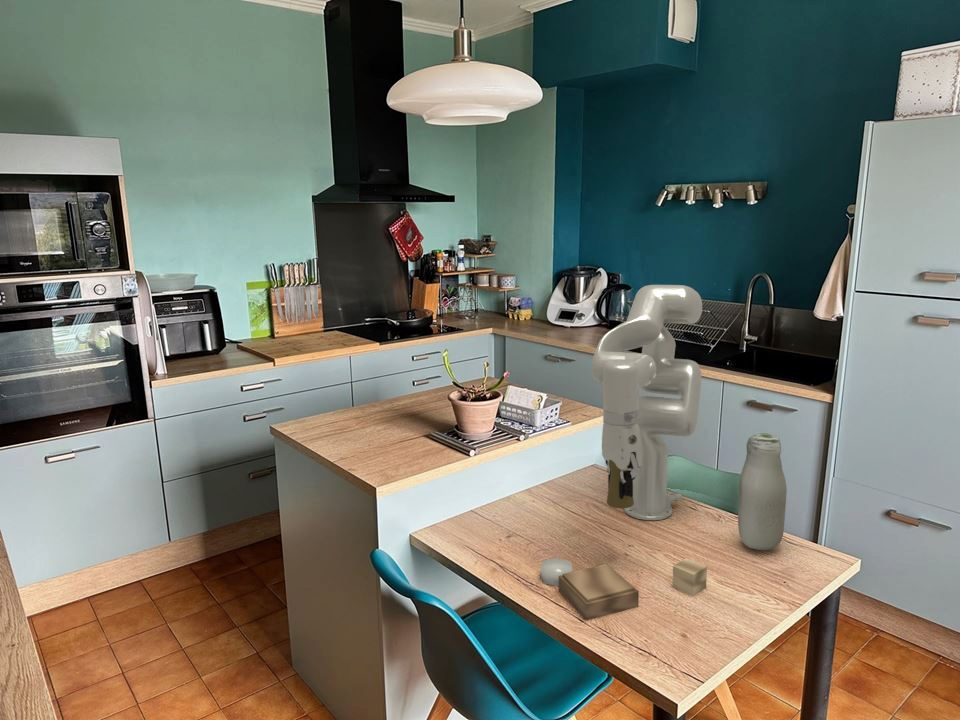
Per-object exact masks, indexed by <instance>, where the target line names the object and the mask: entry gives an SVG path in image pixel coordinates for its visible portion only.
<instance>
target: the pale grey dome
mask: <svg viewBox="0 0 960 720" xmlns="http://www.w3.org/2000/svg"><path fill="white" fill-rule="evenodd" d="M570 572H573V564H572V562H570V561H569V560H567V559H563V558H558V557H557V558H555V557H554V558H548V559H545V560H544V561H542V562H541V563H540V580H541V579H542V580H541V581H542V582H543V583H544V584H546V585H549V586H553V587H559V576H561V575H563V574H565V573H570Z"/></svg>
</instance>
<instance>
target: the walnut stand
mask: <svg viewBox="0 0 960 720" xmlns="http://www.w3.org/2000/svg"><path fill="white" fill-rule="evenodd" d="M558 591H559V593H561V594H562V596H563V597H564V598H565V599H566V600H567V601H568V602H569V603H570V604H571V605H572V606H573V608H575V610H577V611H578V612H579V614H580V615H581V616H582V617H583V618H584V619H585V620H586V621H588V620H593V619H596V618H599V617H604V616H607V615H612V614H615V613H619V612H623V611H627V610H631V609H634V608H638V607H639V597H640V595H639V594H640V593H639V592H640V591H639V590H638V589H637V588H636V587H634V586H633V585H632V584H631V583H630V582H629V581H628V580H626V579H625V578H624V577H623V576H622V575H621V574H619V573H618V572H617V571H616V570H615V569H613V568H612V567H611V566H610V565H609V564H608V563H604V564H600V565H595V566H592V567H588V568H583V569H579V570H575V571H572V572H570V573H565V574H563V575H561V576H559V586H558Z"/></svg>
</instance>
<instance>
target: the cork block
mask: <svg viewBox="0 0 960 720" xmlns="http://www.w3.org/2000/svg"><path fill="white" fill-rule="evenodd" d="M707 574H708V566H707V565H705V564H702V563H700V562H697V561H696V560H695V561H694V560H692V559H690V558H687V557H686V558H684V559H682V560H681V561H679V562H677V563H675V564H673V566H672V584H671V585H672V588H674V589H676V590H679V591H681V592H683V593H685V594H687V595H689V596H691V597H694V596H696V595H697V594H698V593H700V592H701V591H703V590H704V589H706V588H707V578H708V577H707Z"/></svg>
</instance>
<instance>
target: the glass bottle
mask: <svg viewBox="0 0 960 720" xmlns="http://www.w3.org/2000/svg"><path fill="white" fill-rule="evenodd" d="M781 452H782V445H781V440H780V438H779V437H777V436H776V435H774V434H770V433H766V432H761V433H755V434H752V435H750V437H749V438H748V440H747V441H746V456H745V460H744V463H743V467H742V470H741V471H740V472H741V473H740V476H739V480H738V481H739V482H738V515H737V525H738V527H737V528H738V534H739V537H740V539H741V542H742V543H743V544H744V545H745V546H747V547H748V548H749V549H753V550H757V551H769V550H773V549H775V548H776V547H778V546H779V545H780V544H781V542H782V541H783V537H784V531H785V520H786V518H785V517H786V507H787V490H788V489H787V482H786V476H785V473H784V470H783V464H782V458H781V454H782V453H781Z"/></svg>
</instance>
